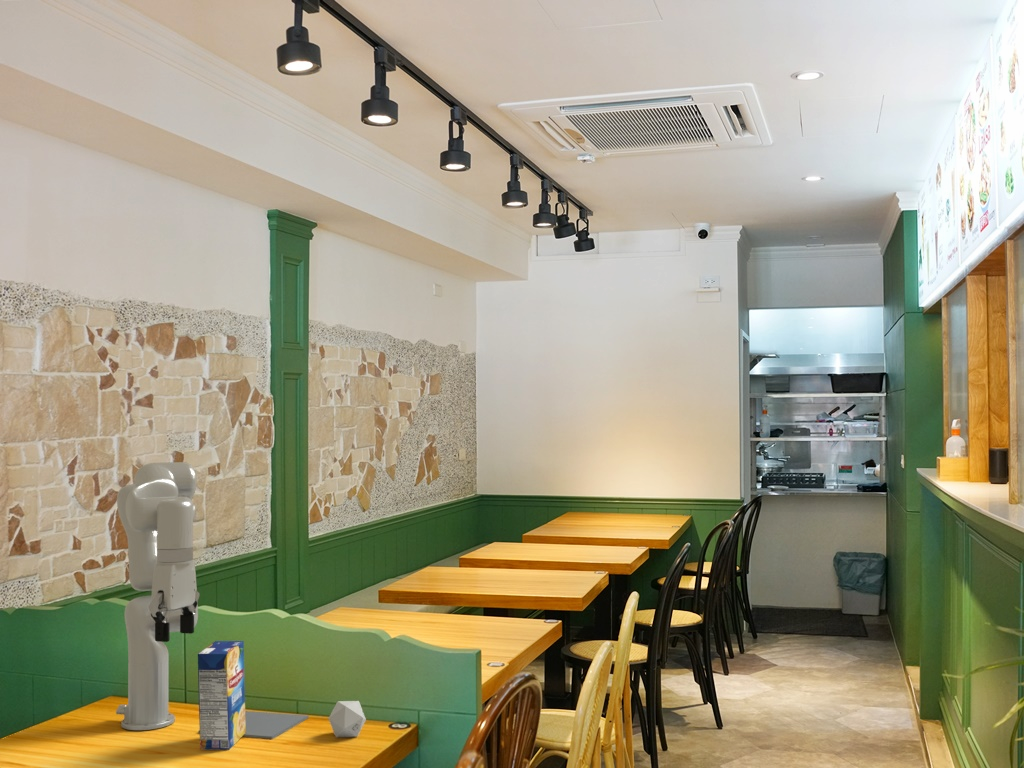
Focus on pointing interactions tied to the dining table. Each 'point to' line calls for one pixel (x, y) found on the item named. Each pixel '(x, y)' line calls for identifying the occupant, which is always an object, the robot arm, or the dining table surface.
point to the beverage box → (221, 695)
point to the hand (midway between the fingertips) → (174, 636)
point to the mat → (269, 724)
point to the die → (347, 719)
